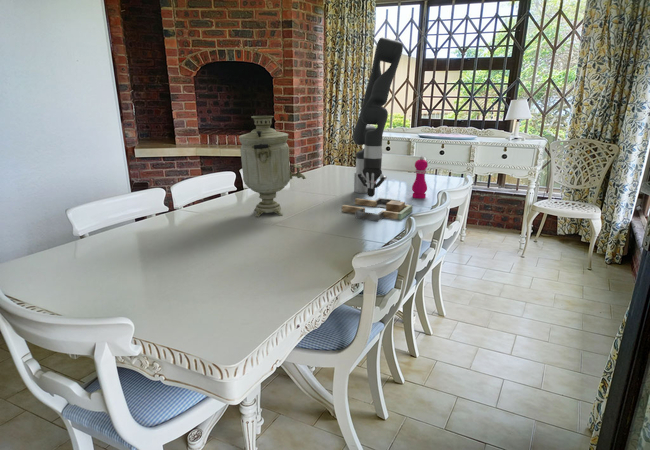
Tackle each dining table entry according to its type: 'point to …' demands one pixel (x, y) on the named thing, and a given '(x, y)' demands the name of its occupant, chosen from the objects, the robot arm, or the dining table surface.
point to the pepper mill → (420, 179)
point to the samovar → (266, 163)
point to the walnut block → (395, 206)
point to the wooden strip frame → (377, 203)
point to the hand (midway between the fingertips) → (371, 196)
